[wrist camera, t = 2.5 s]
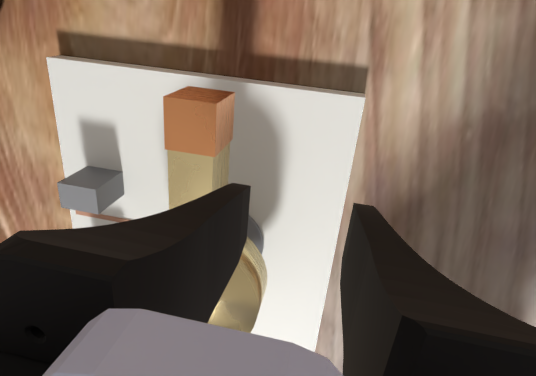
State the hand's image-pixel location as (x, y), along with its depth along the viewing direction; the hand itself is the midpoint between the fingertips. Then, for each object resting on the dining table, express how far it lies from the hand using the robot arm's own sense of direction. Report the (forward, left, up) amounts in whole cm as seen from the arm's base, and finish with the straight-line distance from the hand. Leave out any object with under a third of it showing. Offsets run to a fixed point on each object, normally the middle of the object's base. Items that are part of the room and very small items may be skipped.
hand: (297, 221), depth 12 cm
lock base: (+7, +6, -10) cm, 14 cm away
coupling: (+5, +4, -6) cm, 9 cm away
